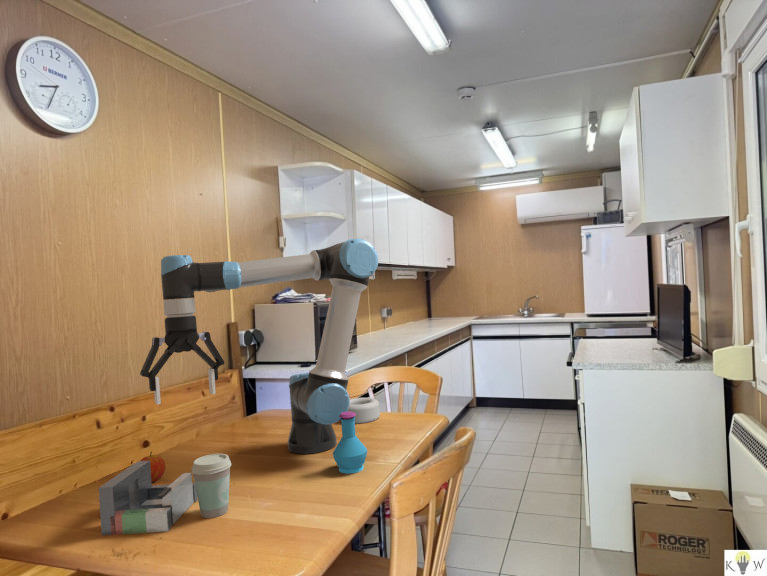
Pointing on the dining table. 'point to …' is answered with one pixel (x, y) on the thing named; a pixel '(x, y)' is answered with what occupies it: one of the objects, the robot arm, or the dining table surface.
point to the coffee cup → (212, 484)
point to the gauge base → (133, 503)
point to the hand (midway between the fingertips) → (186, 398)
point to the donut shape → (364, 409)
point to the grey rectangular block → (174, 497)
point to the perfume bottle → (349, 447)
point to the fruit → (155, 466)
